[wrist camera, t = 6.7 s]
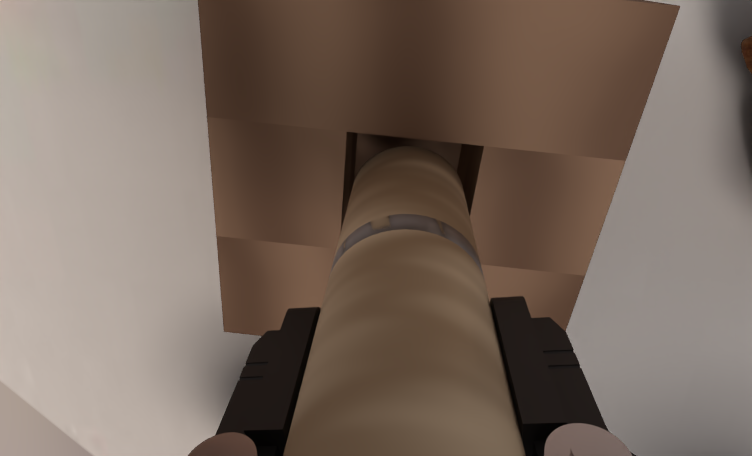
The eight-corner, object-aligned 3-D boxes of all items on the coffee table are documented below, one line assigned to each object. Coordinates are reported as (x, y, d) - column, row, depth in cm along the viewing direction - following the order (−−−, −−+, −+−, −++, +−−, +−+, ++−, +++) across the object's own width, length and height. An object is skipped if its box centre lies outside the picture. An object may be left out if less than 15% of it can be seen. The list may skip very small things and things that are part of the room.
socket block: (606, -6, 19) (680, 5, 14) (523, 285, 26) (552, 367, 21) (253, -42, 19) (194, -43, 14) (261, 257, 26) (224, 331, 21)
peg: (473, 152, 16) (584, 486, 6) (453, 253, 18) (511, 641, 8) (355, 140, 17) (258, 450, 6) (348, 241, 18) (265, 612, 8)
